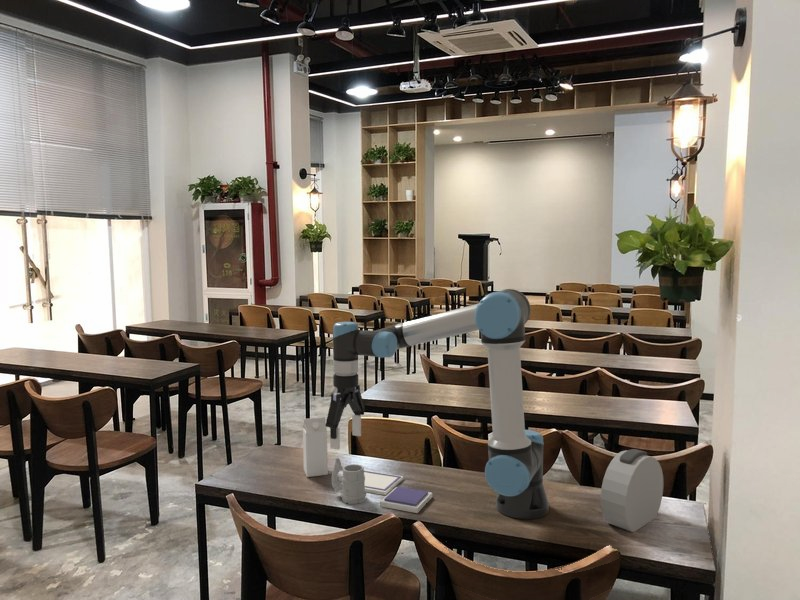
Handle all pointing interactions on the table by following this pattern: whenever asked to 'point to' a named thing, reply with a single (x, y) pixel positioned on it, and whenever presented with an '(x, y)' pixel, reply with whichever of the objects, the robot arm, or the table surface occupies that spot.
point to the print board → (380, 482)
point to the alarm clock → (631, 490)
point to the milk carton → (315, 447)
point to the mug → (350, 482)
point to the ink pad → (406, 499)
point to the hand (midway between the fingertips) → (346, 441)
